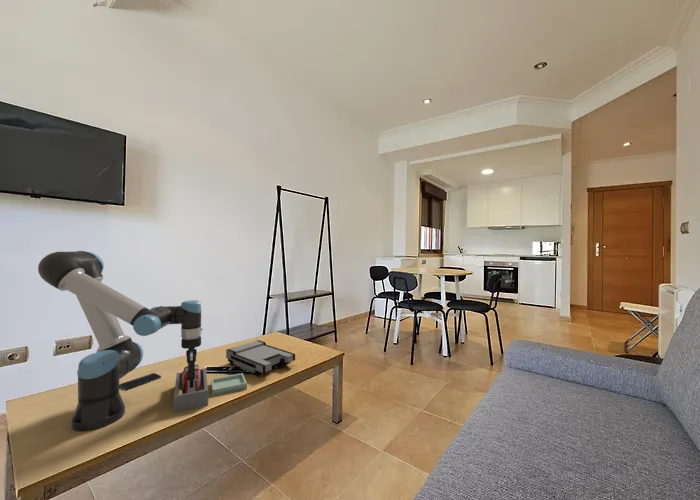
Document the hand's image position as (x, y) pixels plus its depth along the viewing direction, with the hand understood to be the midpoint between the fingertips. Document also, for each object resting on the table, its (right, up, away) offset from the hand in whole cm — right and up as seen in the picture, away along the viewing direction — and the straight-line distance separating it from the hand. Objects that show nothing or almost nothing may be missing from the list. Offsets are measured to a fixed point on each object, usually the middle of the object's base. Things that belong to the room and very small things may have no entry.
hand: (191, 390), depth 127 cm
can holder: (0, -2, 0) cm, 2 cm away
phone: (-30, -2, +12) cm, 33 cm away
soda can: (0, -2, 0) cm, 2 cm away
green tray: (+13, -2, +8) cm, 15 cm away
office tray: (+20, -2, +33) cm, 38 cm away
